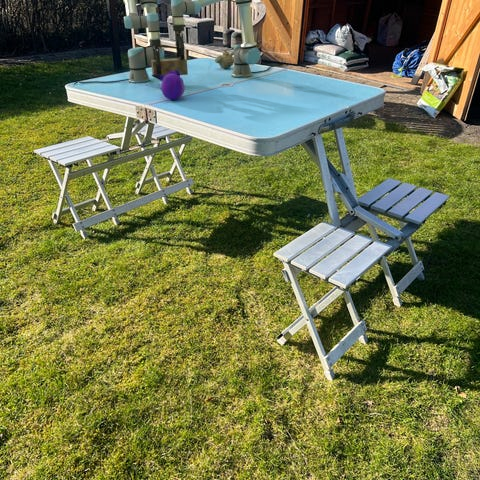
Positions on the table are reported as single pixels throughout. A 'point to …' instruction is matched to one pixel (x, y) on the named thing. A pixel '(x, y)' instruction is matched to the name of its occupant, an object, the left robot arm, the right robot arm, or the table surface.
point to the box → (170, 66)
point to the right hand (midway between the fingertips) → (180, 58)
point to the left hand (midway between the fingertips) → (158, 74)
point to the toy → (171, 85)
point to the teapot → (225, 59)
